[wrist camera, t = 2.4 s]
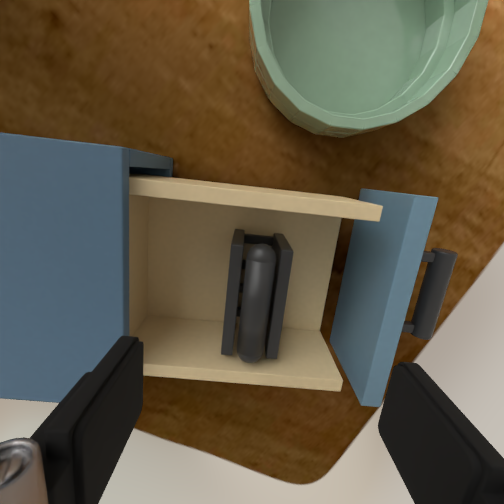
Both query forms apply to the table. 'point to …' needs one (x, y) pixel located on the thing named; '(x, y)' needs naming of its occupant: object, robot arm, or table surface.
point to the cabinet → (63, 259)
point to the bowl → (358, 57)
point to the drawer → (300, 283)
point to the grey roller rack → (256, 295)
